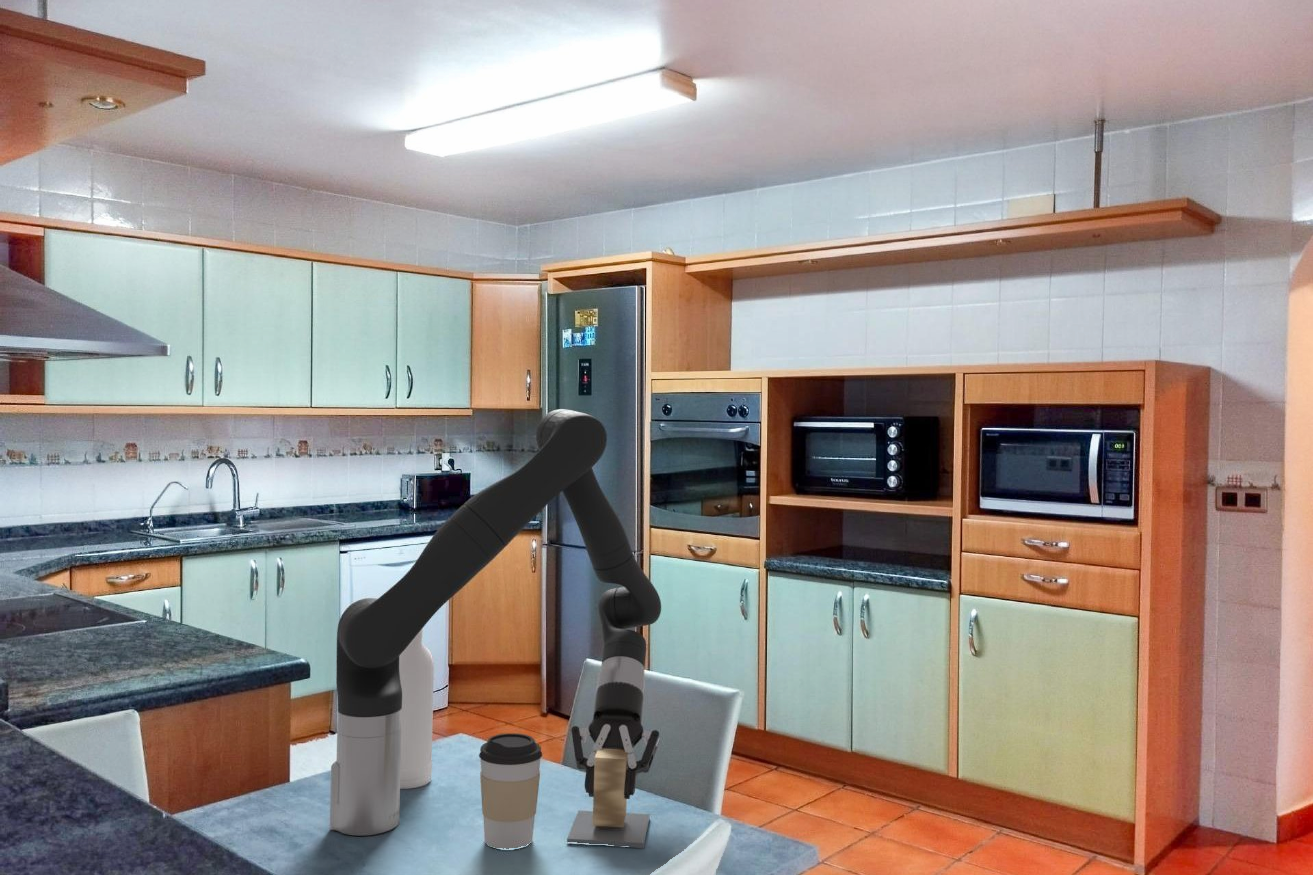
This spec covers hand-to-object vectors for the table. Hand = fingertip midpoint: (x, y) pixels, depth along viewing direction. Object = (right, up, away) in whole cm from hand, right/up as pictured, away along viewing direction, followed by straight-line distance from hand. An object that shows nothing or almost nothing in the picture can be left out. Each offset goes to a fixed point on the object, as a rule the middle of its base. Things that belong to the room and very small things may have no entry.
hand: (609, 794), depth 149 cm
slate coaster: (0, -6, +2) cm, 6 cm away
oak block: (0, -5, +2) cm, 5 cm away
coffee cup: (-14, -6, -3) cm, 16 cm away
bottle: (-35, -5, +21) cm, 41 cm away
